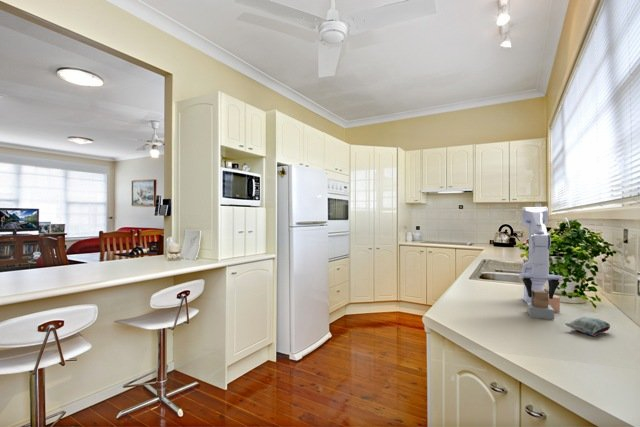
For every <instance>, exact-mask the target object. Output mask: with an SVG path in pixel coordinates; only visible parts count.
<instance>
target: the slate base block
mask: <svg viewBox="0 0 640 427" xmlns="http://www.w3.org/2000/svg"><path fill="white" fill-rule="evenodd" d="M526 312H527V314H528V316H529V317H530V318H537V319H544V320H545V319H546V320H555V312H554V309H553V308H552V307H551V305H548V308H537V307H534V306H533V305H532V304H531V303H526Z"/></svg>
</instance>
